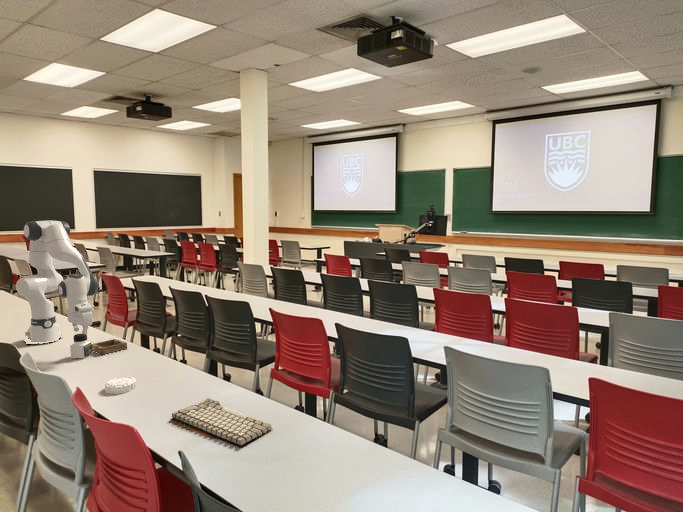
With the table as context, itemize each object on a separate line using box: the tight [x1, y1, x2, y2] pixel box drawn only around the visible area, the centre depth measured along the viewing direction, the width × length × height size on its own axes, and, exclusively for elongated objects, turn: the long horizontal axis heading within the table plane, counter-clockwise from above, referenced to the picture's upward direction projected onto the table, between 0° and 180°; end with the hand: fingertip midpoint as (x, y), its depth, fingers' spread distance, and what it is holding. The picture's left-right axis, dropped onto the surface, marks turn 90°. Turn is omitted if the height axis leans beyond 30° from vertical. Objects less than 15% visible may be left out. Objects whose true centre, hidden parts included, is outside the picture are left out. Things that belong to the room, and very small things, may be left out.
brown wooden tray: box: [91, 338, 128, 356], centre depth 253 cm, size 13×13×4 cm
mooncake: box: [104, 376, 137, 395], centre depth 199 cm, size 12×12×4 cm
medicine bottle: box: [69, 332, 93, 359], centre depth 242 cm, size 7×7×12 cm
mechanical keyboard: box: [168, 397, 273, 449], centre depth 166 cm, size 38×19×3 cm, turn 56°
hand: (80, 332), depth 241 cm, fingers open, 8 cm apart
